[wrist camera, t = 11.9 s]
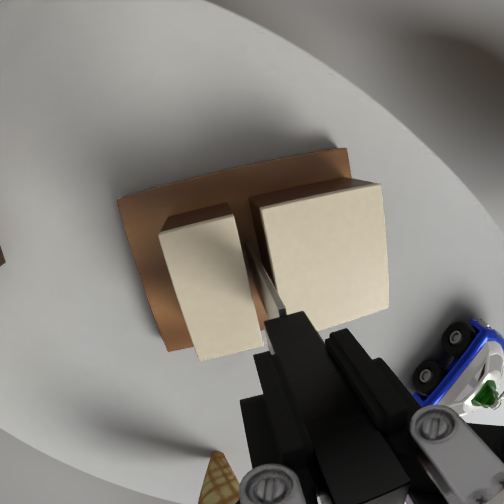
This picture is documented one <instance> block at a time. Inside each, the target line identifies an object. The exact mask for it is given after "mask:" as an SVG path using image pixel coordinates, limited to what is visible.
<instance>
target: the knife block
mask: <svg viewBox="0 0 504 504" xmlns="http://www.w3.org/2000/svg"><path fill="white" fill-rule="evenodd" d="M4 263H6V262H5V259H4V256H3V253H2V250H1V247H0V266H1V265H3V264H4Z"/></svg>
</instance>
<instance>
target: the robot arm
mask: <svg viewBox="0 0 504 504" xmlns="http://www.w3.org/2000/svg"><path fill="white" fill-rule="evenodd" d="M325 346H326V347H327V349H328V350H329V352H330V353H331V355H332V357H333V358H334V360H335V361H336V363H337V364H338V366H339V368H340V369H341V371H342V372H343V374H344V375H345V377H346V379H347V380H348V382H349V383H350V385H351V386H352V388H353V390H354V391H355V393H356V394H357V396H358V397H359V399H360V401H361V402H362V404H363V405H364V407H365V409H366V410H367V412H368V413H369V415H370V416H371V418H372V420H373V421H374V423H375V424H376V426H377V428H379V429H380V430H381V432H382V433H383V435H384V436H385V438H386V440H387V441H388V443H389V444H390V446H391V447H392V449H393V451H394V452H395V454H396V455H397V457H398V459H399V460H400V462H401V463H402V465H403V467H404V468H405V470H406V471H407V473H408V474H409V476H410V478H411V479H412V482H411V485H410V488H409V491H408V494H407V497H406V500H405V502H406V503H407V504H504V426H494V425H482V424H472V423H466V422H465V421H464V420H463V419H462V418H461V417H460V416H459V415H458V414H457V412H455V411H454V410H453V409H452V408H450V407H447V406H445V405H437V404H436V405H429V406H426V407H423V408H422V407H421V406H420V404H419V403H418V402H417V401H416V399H415V398H414V397H413V396H412V394H411V393H410V392H409V391H408V390H407V388H406V387H405V386H404V385H403V383H402V382H401V381H400V380H399V379H398V377H397V376H396V375H395V374H394V372H393V371H392V370H391V369H390V368H389V366H388V365H387V364H386V363H385V362H384V360H382V359H381V358H376V359H373V360H372V359H371V358H370V356H369V355H368V354H367V353H366V351H365V350H364V349H363V348H362V346H361V345H360V344H359V343H358V341H357V340H356V339H355V337H354V336H353V335H352V334H351V332H350V331H349V330H348V329H347V328H345V329H342V330H339V331H336V332H332V333H330V338H328V339H325ZM253 357H254V360H255V364H256V368H257V372H258V375H259V379H260V383H261V387H262V390H263V394H262V395H258V396H254V397H250V398H246V399H242V400H240V406H241V411H242V417H243V422H244V427H245V433H246V438H247V443H248V448H249V453H250V458H251V463H252V468H253V469H252V470H251V471H249V472H248V473H247V474H246V475H245V476H244V477H243V479H242V481H241V483H240V485H239V496H240V499H239V500H238V501H237V502H236V503H235V504H318V502H317V497H318V496H319V494H318V487H317V480H316V474H315V467H314V460H313V454H312V453H313V452H314V448H313V444H312V441H311V438H310V435H309V432H308V430H307V427H306V425H305V422H304V419H303V417H302V414H301V412H300V409H299V407H298V404H297V402H296V399H295V397H294V394H293V392H292V389H291V386H290V384H289V381H288V379H287V376H286V374H285V371H284V368H283V366H282V363H281V361H280V358H279V356H278V353H277V354H273V355H271V353H270V351H267V352H263V353H259V354H255V355H253Z"/></svg>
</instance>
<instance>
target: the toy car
mask: <svg viewBox="0 0 504 504" xmlns="http://www.w3.org/2000/svg"><path fill="white" fill-rule="evenodd" d="M469 323H470V324H471V325H472V327H473V328H474V330H475V332H473V331H472V330H471V329H470V328H469V327H468V326H467V325H466V324H465V323H462V322H457V323H454V324H453V325H451V326H450V327H449V328H448V329H447V330H446V332H445V334H444V336H443V342H442V344H443V347H444V349H445V350H446V351H447V352H448V353H449V354H451V355H452V356H454V359H453V361H452V362H451V364H450V365H449V366H448V367H447V368H446V369H445V368H444V367H442V366H441V365H439V364H437V363H436V362H434V361H425V362H423V363H422V364H420V365H419V367H418V368H417V369H416V371H415V373H414V376H413V385H414V387H415V388H416V390H419V391H421V392H423V393H425V394H426V396H424V395H421V394H419V393H416V392H415V393H414V394H413V395H412V396H413V397H414V398H415V399H416V401H417V402H418V403H419V404H420V406H421V407H422V408H423V407H426V406H429V405H436V404H437V405H445V406H447V407H450V408H452V409H453V410H454V411H455V412H457V414H458V415H459V416H460V417H461V416H464V415H467V414H469V413H472V412H474V411H477V410H479V409H481V408H482V407H484V408H488V407H491V408H492V409H494V410H495V409H497V408H498V407H499V406H500V404H501V400H502V399H503V398H504V392H503V393H502V394H501V395H500V396H499V398H498V392H497V391H496V390H497V388H498V386H499V385H500V382H501V378H502V372H503V368H504V339H503V337H502V335H501V334H500V333H498V332H497V331H496V330H494V329H491V327H490V326H489V325H488V324H487V323H485V322H484V321H483V320H482V319H479V320H476V319H472V320H471V321H470V322H469Z"/></svg>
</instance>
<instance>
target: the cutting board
mask: <svg viewBox="0 0 504 504" xmlns="http://www.w3.org/2000/svg"><path fill="white" fill-rule="evenodd" d="M342 177H347V178H351V171H350V165H349V159H348V153H347V148H334V149H328V150H322V151H316V152H311V153H305V154H299V155H294V156H289V157H283V158H278V159H273V160H268V161H263V162H259V163H254V164H249V165H244V166H240V167H235V168H231V169H226V170H222V171H218V172H214V173H209V174H205V175H201V176H197V177H193V178H189V179H185V180H181V181H177V182H174V183H170V184H166V185H162V186H159V187H155V188H151V189H148V190H144V191H141V192H137V193H134V194H130V195H127V196H124V197H121V198H119V199H118V200H117V203H118V207H119V210H120V214H121V217H122V221H123V224H124V228H125V231H126V235H127V238H128V241H129V244H130V248H131V251H132V254H133V257H134V260H135V263H136V266H137V269H138V272H139V275H140V278H141V281H142V284H143V287H144V290H145V293H146V296H147V299H148V301H149V304H150V307H151V310H152V312H153V315H154V318H155V320H156V323H157V326H158V328H159V331H160V333H161V336H162V338H163V341H164V343H165V346H166V348H167V351H168V352H170V351H175V350H180V349H185V348H189V347H194V345H193V343H192V340H191V337H190V334H189V331H188V328H187V325H186V323H185V320H184V317H183V314H182V311H181V308H180V305H179V302H178V299H177V296H176V293H175V290H174V286H173V283H172V280H171V277H170V274H169V270H168V267H167V264H166V261H165V257H164V254H163V251H162V247H161V244H160V240H159V237H158V235H159V233H160V231H161V229H162V227H163V225H164V223H165V221H166V220H167V218H168V217H169V216H173V215H177V214H181V213H185V212H188V211H192V210H196V209H200V208H204V207H209V206H213V205H217V204H221V203H225V202H227V203H228V205H229V207H230V209H231V211H232V213H233V215H234V218H235V222H236V227H237V231H238V236H239V240H240V244H241V249H242V253H243V257H244V262H245V266H246V270H247V275H248V279H249V283H250V288H251V292H252V296H253V301H254V305H255V309H256V314H257V318H258V322H259V326H260V331H261V330H265V329H264V325H263V322H264V321H266V320H269V319H268V316H267V314H266V311H265V309H264V306H263V304H262V302H261V299H260V297H259V294H258V292H257V289H256V287H255V285H254V281H253V277H252V272H251V268H250V264H249V259H248V255H247V250H246V246H245V242H247V241H249V242H250V244H251V246H252V247H253V249H254V251H255V253H256V255H257V256H258V258H259V260H260V262H261V264H262V260H261V255H260V251H259V246H258V241H257V237H256V232H255V227H254V223H253V218H252V213H251V208H250V204H249V199H248V198H249V197H251V196H256V195H260V194H265V193H269V192H274V191H278V190H283V189H288V188H292V187H297V186H302V185H307V184H312V183H316V182H321V181H327V180H332V179H337V178H342ZM262 266H263V265H262Z"/></svg>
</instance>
